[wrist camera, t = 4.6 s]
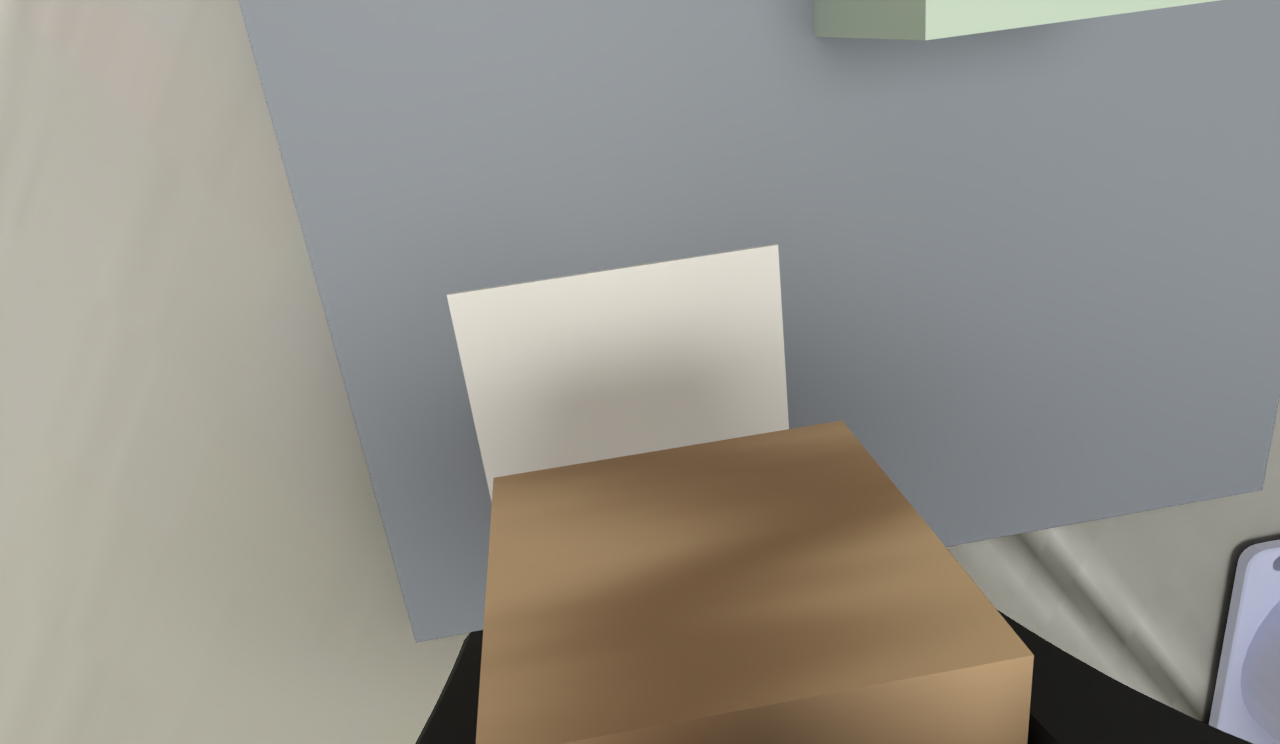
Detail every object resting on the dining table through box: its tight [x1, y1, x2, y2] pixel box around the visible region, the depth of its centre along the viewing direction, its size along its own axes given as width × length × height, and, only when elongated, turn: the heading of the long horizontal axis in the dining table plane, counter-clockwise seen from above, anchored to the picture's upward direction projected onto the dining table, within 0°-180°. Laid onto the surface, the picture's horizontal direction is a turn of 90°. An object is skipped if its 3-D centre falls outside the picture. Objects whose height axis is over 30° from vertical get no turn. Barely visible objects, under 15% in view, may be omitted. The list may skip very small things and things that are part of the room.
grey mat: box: [238, 0, 1280, 642], centre depth 18 cm, size 22×18×1 cm
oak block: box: [476, 421, 1034, 744], centre depth 11 cm, size 5×5×5 cm
